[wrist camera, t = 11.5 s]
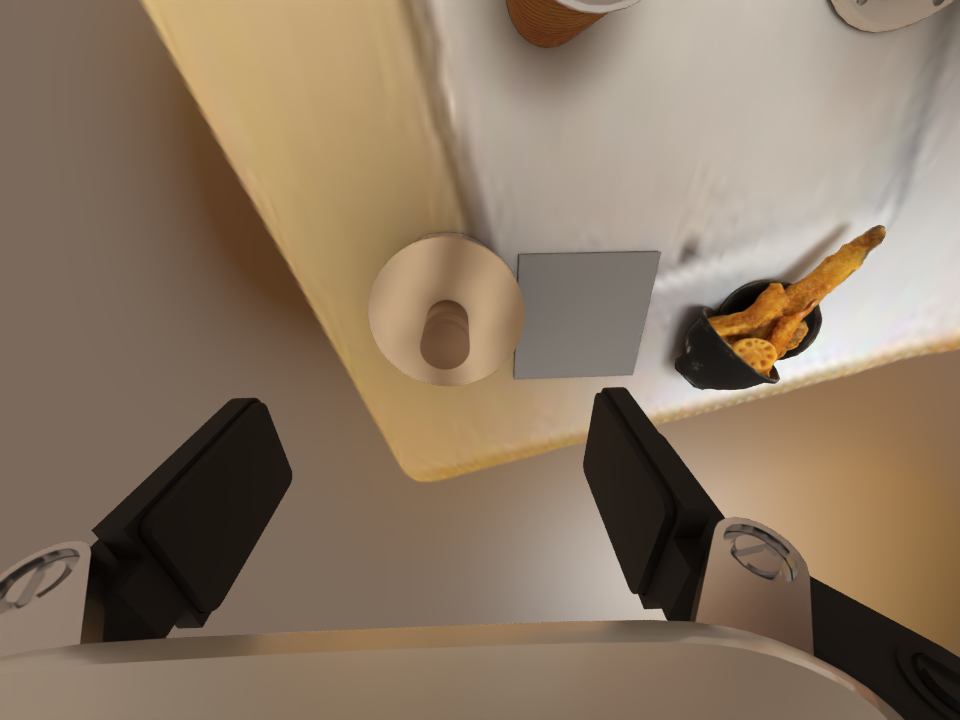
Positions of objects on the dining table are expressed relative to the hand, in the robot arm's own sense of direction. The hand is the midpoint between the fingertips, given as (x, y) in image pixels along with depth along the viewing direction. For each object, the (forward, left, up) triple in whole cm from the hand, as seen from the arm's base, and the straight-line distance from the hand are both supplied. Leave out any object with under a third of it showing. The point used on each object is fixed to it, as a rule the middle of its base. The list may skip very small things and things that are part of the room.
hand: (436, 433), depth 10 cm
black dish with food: (-29, +5, -24) cm, 38 cm away
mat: (-13, +6, -24) cm, 28 cm away
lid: (0, +3, -18) cm, 18 cm away
